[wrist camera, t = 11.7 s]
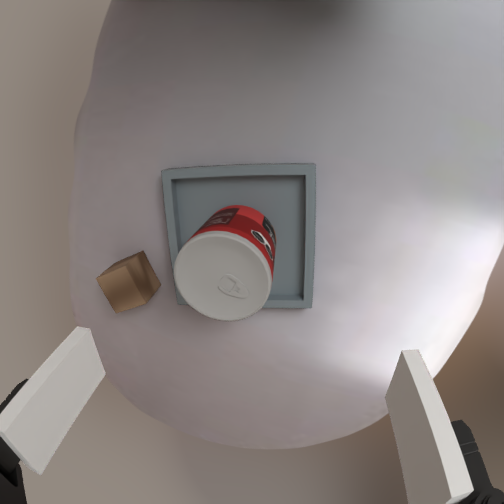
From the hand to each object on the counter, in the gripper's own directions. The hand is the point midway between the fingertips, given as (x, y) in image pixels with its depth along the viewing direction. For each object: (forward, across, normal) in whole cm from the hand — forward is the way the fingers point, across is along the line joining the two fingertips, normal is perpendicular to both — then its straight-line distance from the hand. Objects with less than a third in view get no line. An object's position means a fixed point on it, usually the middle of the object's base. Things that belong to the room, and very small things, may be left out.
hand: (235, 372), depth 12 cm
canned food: (+23, -3, -2) cm, 24 cm away
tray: (+24, -3, -2) cm, 24 cm away
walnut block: (+24, -17, -8) cm, 30 cm away
